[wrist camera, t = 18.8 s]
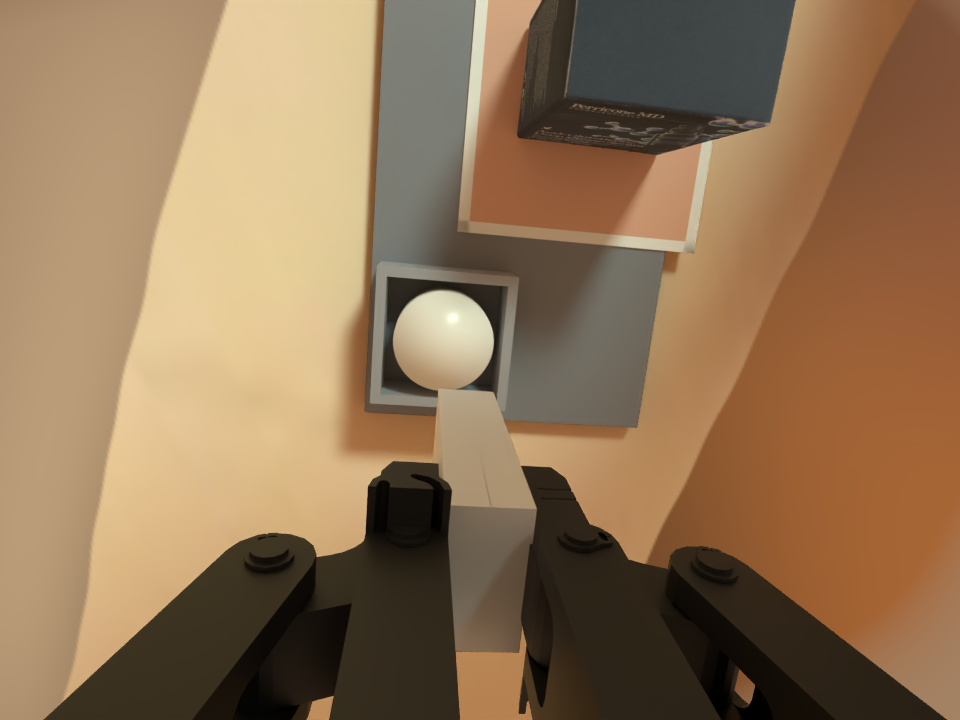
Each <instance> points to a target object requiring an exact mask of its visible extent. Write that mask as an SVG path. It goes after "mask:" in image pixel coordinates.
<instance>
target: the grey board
mask: <svg viewBox="0 0 960 720" xmlns="http://www.w3.org/2000/svg"><path fill="white" fill-rule="evenodd" d="M541 1H542V0H385V5H384V25H383V46H382V66H381V87H380V107H379V127H378V148H377V168H376V189H375V209H374V229H373V250H372V270H371V291H370V311H369V332H368V352H367V372H366V393H365V412H372V413H389V414H407V415H424V416H436V413H437V400H438V391H437V390H432V389H428V388H425V387H422V386H420V385H419V384H417V383H415V382H414V381H412V380H411V379H410V378H409V377H408V376H407V375H406V374H405V373H404V372H403V370H402V369H401V367H400V366H399V364H398V362H397V360H396V357H395V353H394V348H393V336H394V330H395V327H396V323H397V320H398V316H399V314H400V312H401V310H402V308H403V306H404V305H405V304H406V302H407V301H408V300H409V299H410V298H411V297H412V296H414V295H415V294H416V293H418V292H420V291H422V290H424V289H426V288H430V287H434V286H449V287H454V288H458V289H460V290H462V291H464V292H466V293H467V294H469V295H470V296H471V297H473V298H474V299H475V300H476V301H477V303H478V304H479V305H480V307H481V308H482V310H483V311H484V313H485V314H486V316H487V318H488V320H489V322H490V324H491V327H492V331H493V338H494V346H493V352H492V356H491V359H490V361H489V363H488V365H487V367H486V368H485V370H484V371H483V372H482V374H481V375H480V376H479V377H478V378H477V379H475V380H474V381H473V382H471V383H470V384H468V385H466V386H464V387H461V388H459V389H455V390H471V391H487V392H494V395H495V397H496V400H497V403H498V406H499V408H500V411H501V414H502V416H503V419H504V420H511V421H528V422H545V423H563V424H580V425H598V426H615V427H632V428H637V425H638V419H639V413H640V406H641V400H642V394H643V388H644V381H645V375H646V369H647V363H648V356H649V350H650V344H651V338H652V331H653V325H654V319H655V313H656V306H657V300H658V294H659V288H660V282H661V275H662V269H663V263H664V257H665V251H673V252H684V253H694V250H695V244H696V238H697V232H698V226H699V220H700V215H701V209H702V203H703V197H704V191H705V185H706V179H707V174H708V168H709V162H710V156H711V150H712V144H713V140H711V141H707V142H704V143H700V144H696V145H693V146H689V147H686V148H681V149H678V150H674V151H670V152H667V153H663V154H659V155H652V154H644V153H639V152H629V151H625V150H616V149H608V148H600V147H591V146H583V145H573V144H566V143H557V142H549V141H541V140H531V139H522V138H518V136H517V128H518V121H519V112H520V103H521V94H522V85H523V78H524V65H525V57H526V49H527V41H528V31H529V24H530V20H531V19H532V17H533V15H534V14H535V11H536V10H537V8H538V6H539V5H540V3H541Z"/></svg>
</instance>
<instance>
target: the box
mask: <svg viewBox="0 0 960 720" xmlns="http://www.w3.org/2000/svg"><path fill="white" fill-rule="evenodd" d="M795 1H796V0H542V1H541V3H540V5H539V6H538V8H537V10H536V11H535V14H534V15H533V17H532V19H531V20H530V24H529V31H528V41H527V49H526V57H525V65H524V78H523V85H522V94H521V103H520V112H519V121H518V128H517V136H518V138H522V139H531V140H541V141H549V142H557V143H566V144H573V145H583V146H591V147H600V148H608V149H616V150H625V151H629V152H639V153H644V154H652V155H659V154H663V153H667V152H670V151H674V150H678V149H681V148H686V147H689V146H693V145H696V144H700V143H704V142H707V141H711V140H714V139H719V138H722V137H726V136H729V135H733V134H738V133H741V132H745V131H749V130H753V129H757V128H761V127H765V126H768V125H769V124H770V122H771V117H772V112H773V108H774V103H775V99H776V94H777V90H778V84H779V79H780V75H781V70H782V65H783V60H784V55H785V51H786V46H787V41H788V36H789V31H790V26H791V21H792V16H793V10H794V6H795Z"/></svg>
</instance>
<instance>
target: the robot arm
mask: <svg viewBox="0 0 960 720" xmlns="http://www.w3.org/2000/svg"><path fill="white" fill-rule="evenodd" d="M522 627H523V631H524V635H525V640H526V644H527V646H526V654H525V662H524V670H523V678H522V685H521V693H520V701H519V714H525V712H526V705H527V701H528V700H529V704H530V708H531V713H532V718H533V720H947V719H945V718H944V717H943V716H941V715H940V714H939V713H937V712H936V711H935V710H934V709H932V708H931V707H930V706H929V705H927V704H926V703H924V702H923V701H922V700H921V699H919V698H918V697H917V696H916V695H914V694H913V693H912V692H910V691H909V690H908V689H906V688H905V687H904V686H902V685H901V684H900V683H899V682H897V681H896V680H895V679H894V678H892V677H891V676H890V675H888V674H887V673H886V672H884V671H883V670H882V669H881V668H879V667H878V666H877V665H875V664H874V663H873V662H872V661H870V660H869V659H868V658H866V657H865V656H864V655H862V654H861V653H860V652H858V651H857V650H856V649H855V648H853V647H852V646H851V645H849V644H848V643H847V642H846V641H844V640H843V639H842V638H840V637H839V636H838V635H837V634H835V633H834V632H833V631H831V630H830V629H829V628H827V627H826V626H825V625H824V624H822V623H821V622H820V621H819V620H817V619H816V618H815V617H813V616H812V615H811V614H809V613H808V612H807V611H806V610H804V609H803V608H802V607H800V606H799V605H797V604H796V603H795V602H794V601H793V600H791V599H790V598H789V597H787V596H786V595H785V594H783V593H782V592H781V591H780V590H778V589H777V588H776V587H775V586H773V585H772V584H771V583H769V582H768V581H767V580H765V579H764V578H763V577H762V576H760V575H759V574H758V573H756V572H755V571H754V570H753V569H751V568H750V567H749V566H747V565H746V564H744V563H743V562H741V561H739V560H738V559H736V558H735V557H733V556H730V555H728V554H725V553H723V552H721V551H720V550H718V549H713V548H710V549H709V548H708V547H703V546H699V547H683V548H680V549H677V550H675V551H674V552H673V554H671V556H670V560H669V565H668V569H665V568H660V567H655V566H651V565H647V564H642V563H639V562H635V561H632V560H628V558H627V556H626V555H625V553H624V551H623V549H622V548H621V546H620V544H619V543H618V541H617V540H616V539H615V538H614V537H613V536H612V535H611V534H609V533H608V532H606V531H604V530H602V529H601V528H599V527H596V526H593V525H590V524H589V522H588V520H587V519H586V517H585V515H584V513H583V511H582V509H581V507H580V505H579V503H578V501H576V498H575V496H574V494H573V492H571V488H570V486H569V484H568V482H567V480H566V479H565V477H563V476H562V475H560V474H559V473H558V472H556V471H555V470H554V469H552V468H551V467H531V466H521V465H520V462H519V460H518V457H517V454H516V451H515V449H514V446H513V443H512V441H511V438H510V435H509V433H508V430H507V427H506V424H505V422H504V419H503V416H502V414H501V411H500V408H499V406H498V403H497V400H496V397H495V395H494V392H487V391H471V390H455V389H440V388H438V400H437V413H436V425H435V438H434V451H433V463H418V462H398V461H393V462H392V463H390V464H389V465H388V466H387V467H386V468H384V469H383V470H382V472H381V475H380V476H378V477H376V478H374V479H373V480H372V481H371V483H370V484H369V486H368V498H367V517H366V534H365V540H364V541H363V542H362V543H361V544H359V545H358V546H356V547H355V548H352V549H350V550H347V551H345V552H342V553H338V554H333V555H328V556H322V557H316V552H315V549H314V546H313V545H312V544H311V543H309V542H308V541H307V540H306V539H304V538H301V537H298V536H294V535H291V534H279V533H268V534H261V535H257V536H254V537H251V538H248V539H245V540H243V541H240V542H238V543H237V544H235V545H234V546H232V547H231V548H229V549H228V550H226V551H225V552H224V553H223V554H222V555H221V556H220V557H219V558H218V559H217V560H216V561H215V562H213V563H212V564H211V565H210V566H209V567H208V568H207V569H206V570H205V571H204V572H203V573H202V574H200V575H199V576H198V577H197V578H196V579H195V580H194V581H193V582H192V583H191V584H190V585H189V586H188V587H186V588H185V589H184V590H183V591H182V592H181V593H180V594H179V595H178V596H177V597H176V598H175V599H174V600H172V601H171V602H170V603H169V604H168V605H167V606H166V607H165V608H164V609H163V610H162V611H161V612H159V613H158V614H157V615H156V616H155V617H154V618H153V619H152V620H151V621H150V622H149V623H148V624H147V625H145V626H144V627H143V628H142V629H141V630H140V631H139V632H138V633H137V634H136V635H135V636H134V637H133V638H131V639H130V640H129V641H128V642H127V643H126V644H125V645H124V646H123V647H122V648H121V649H120V650H118V651H117V652H116V653H115V654H114V655H113V656H112V657H111V658H110V659H109V660H108V661H107V662H106V663H104V664H103V665H102V666H101V667H100V668H99V669H98V670H97V671H96V672H95V673H94V674H93V675H91V676H90V677H89V678H88V679H87V680H86V681H85V682H84V683H83V684H82V685H81V686H80V687H79V688H77V689H76V690H75V691H74V692H73V693H72V694H71V695H70V696H69V697H68V698H67V699H66V700H65V701H63V702H62V703H61V704H60V705H59V706H58V707H57V708H56V709H55V710H54V711H53V712H52V713H50V714H49V715H48V716H47V717H46V718H45V719H44V720H306V719H307V717H308V715H309V711H310V708H311V704H312V701H315V700H319V699H323V698H326V697H330V696H334V698H333V703H332V708H331V713H330V718H329V720H460V713H459V698H458V682H457V667H456V652H514V653H519V648H520V640H521V632H522ZM739 669H740V670H741V671H742V672H743V673H744V674H745V675H746V676H747V677H748V678H749V679H750V680H751V681H752V682H753V683H754V684H755V689H754V693H753V697H752V701H751V703H750V704H748V703H747V702H745V701H744V700H743V699H742V698H741V697H740V696H739V695H738V694H737V693H736V692H735V691H734V690H735V685H736V681H737V676H738V672H739Z"/></svg>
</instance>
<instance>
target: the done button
mask: <svg viewBox="0 0 960 720" xmlns="http://www.w3.org/2000/svg"><path fill="white" fill-rule="evenodd" d="M493 346H494V338H493V331H492V327H491V324H490V322H489V320H488V318H487V316H486V314H485V313H484V311H483V310H482V308H481V307H480V305H479V304H478V303H477V301H476V300H475V299H474V298H473V297H471V296H470V295H469V294H467V293H466V292H464V291H462V290H460V289H458V288H454V287H449V286H434V287H430V288H426V289H424V290H422V291H420V292H418V293H416V294H415V295H414V296H412V297H411V298H410V299H409V300H408V301H407V302H406V304H405V305H404V306H403V308H402V310H401V312H400V314H399V316H398V320H397V323H396V327H395V330H394V336H393V348H394V353H395V357H396V360H397V362H398V364H399V366H400V367H401V369H402V370H403V372H404V373H405V374H406V375H407V376H408V377H409V378H410V379H411V380H412V381H414V382H415V383H417V384H419V385H420V386H422V387H425V388H428V389H432V390H437V391H438V388H440V389H459V388H461V387H464V386H466V385H468V384H470V383H471V382H473V381H474V380H475V379H477V378H478V377H479V376H480V375H481V374H482V372H483V371H484V370H485V368H486V367H487V365H488V363H489V361H490V359H491V356H492V352H493Z"/></svg>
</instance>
